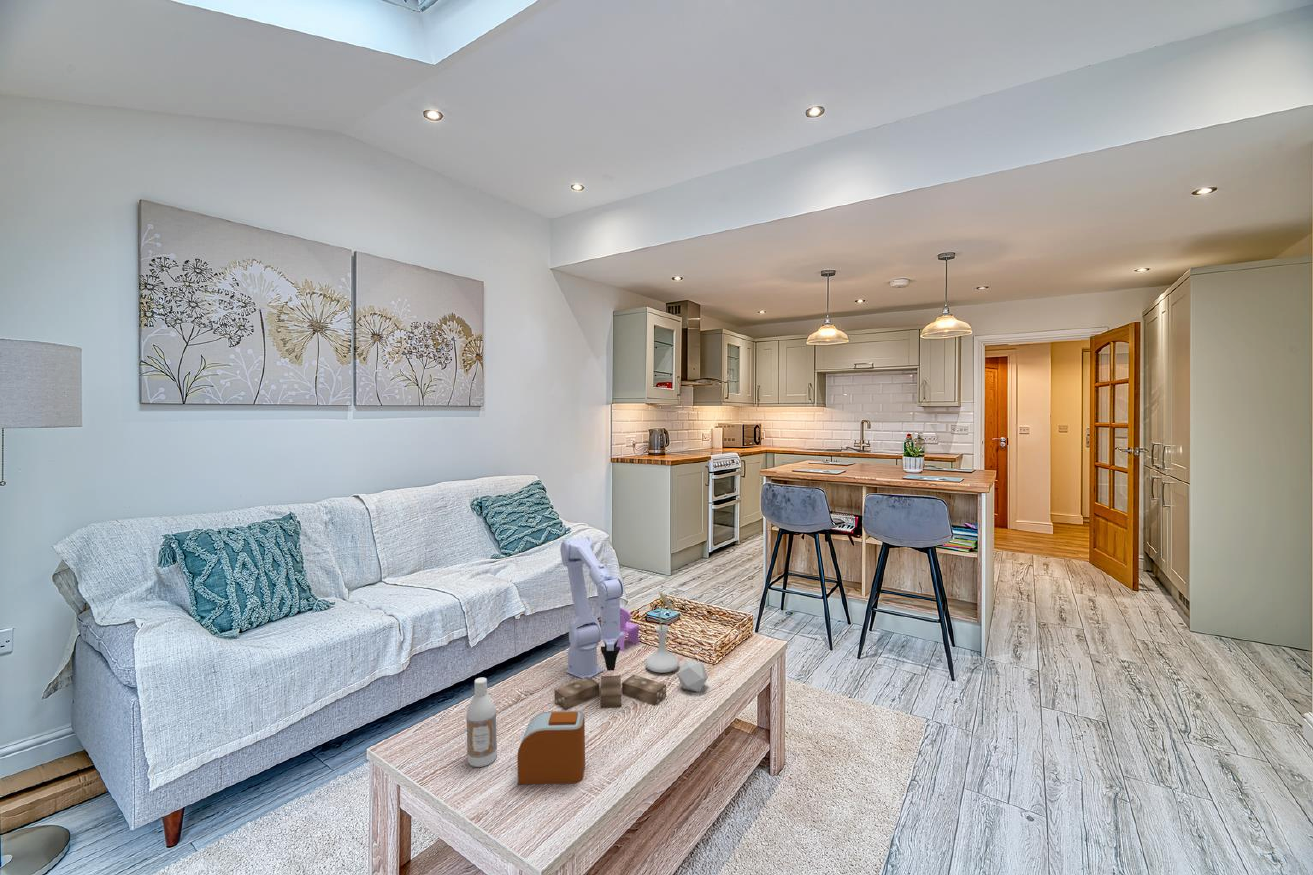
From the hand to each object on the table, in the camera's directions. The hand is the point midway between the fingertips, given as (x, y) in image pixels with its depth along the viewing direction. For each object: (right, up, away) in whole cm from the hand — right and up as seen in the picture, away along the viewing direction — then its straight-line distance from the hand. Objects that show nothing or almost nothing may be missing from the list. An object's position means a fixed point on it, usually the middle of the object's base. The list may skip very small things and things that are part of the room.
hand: (610, 663), depth 165 cm
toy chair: (+2, -9, +37) cm, 38 cm away
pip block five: (+10, -10, +1) cm, 14 cm away
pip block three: (-10, -10, -1) cm, 14 cm away
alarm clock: (-11, -12, -34) cm, 38 cm away
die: (+25, -10, +5) cm, 27 cm away
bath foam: (-29, -12, -29) cm, 43 cm away
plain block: (0, -10, 0) cm, 10 cm away
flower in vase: (+16, -9, +19) cm, 26 cm away
